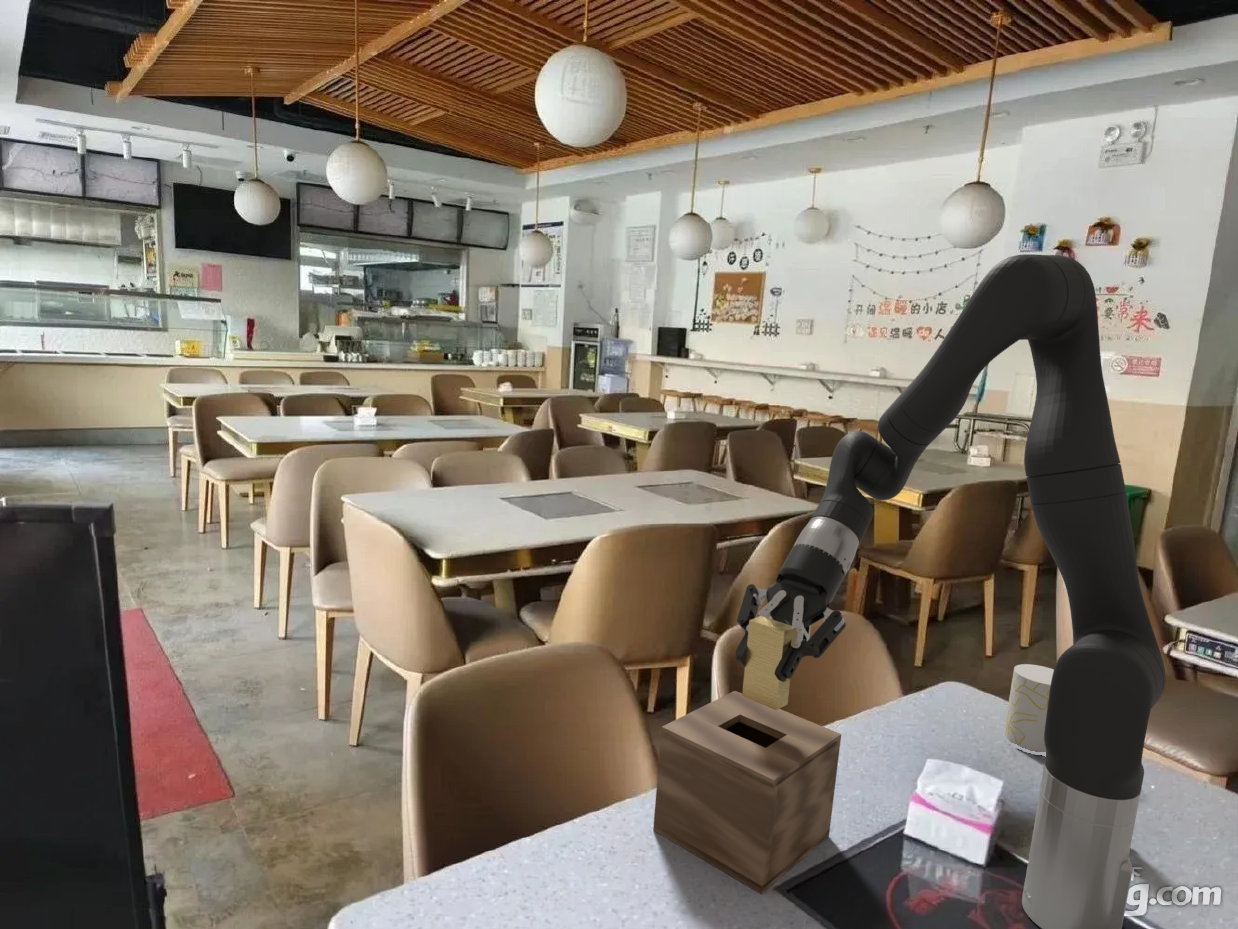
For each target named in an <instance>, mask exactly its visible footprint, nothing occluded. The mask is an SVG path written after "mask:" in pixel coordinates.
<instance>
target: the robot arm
mask: <svg viewBox="0 0 1238 929" xmlns="http://www.w3.org/2000/svg"><path fill="white" fill-rule="evenodd" d="M960 312H961V313H960V314H959V315H958V317H957V319H956V320H955V322H954V323H953V325H952V326H951V328H950V329H949V331H948V333H947V334H946V335H945V337H944V338H943V340H942V341H941V342H940V345H939V346H938V348H936V350H935V352H934V353H933V354H932V356H931V357H930V359H929V360H928V361H927V362H926V365H925V366H924V367H923V368H922V370H921V371H920V372H918V374H917V375H916V376H915V378H914V379H913V380H912V382H910V383H909V384H908V386H907V387H906V388H905V389H904V390H903V391H902V392H901V393H900V394H899V396H898V397H896V399H895V400H894V401H893V402H892V403H891V405H889V406H888V407H887V408H886V410H885V411H884V412H883V414H882V415H881V416H880V417H879V420H878V423H877V429H878V433H879V435H880V437H881V439H882V440H883V442H882V441H880V440H878V439H877V438H875V437H874V436H873V435H871V434H869V433H867V432H865V431H862V430H854V431H851V432H849V433H847V434H845V435H844V436H843V437H842V438H841V439H840V440H839V441H838V442H837V445H836V446H835V448H834V450H833V454H832V455H831V456H832V457H831V460H830V465H829V471H828V477H827V481H826V485H825V490H824V492H823V496H822V498H821V500H820V502H819V504H818V505H817V507H816V509H815V511H814V513H813V514H812V516H811V518H810V520H809V521H808V523H807V524H806V525H805V527H804V528H803V529H802V530H801V532H800V534H799V536H798V537H797V538H796V541H795V542H794V544H793V546H792V548H791V550H790V551H789V553H788V555H787V557H786V559H784V562H783V564H782V565H781V567H780V568H779V571H778V573H777V577H776V580H775V581H774V582H773V583H772V584H771V585H770V586H769V587H767V589H766V588H757V586H756V585H755V584H753V583H751V584H750V583H749V584H748V585H747V587H746V588H745V591H744V592H745V593H744V595H743V598H742V602H741V604H740V605H741V606H740V608H739V612H738V615H737V618H736V622H737V624H738V625H739V626H740V628H741V630H742V631H743V633H744V635H743V637H742V639H741V641H740V643H739V644H738V646H737V647H736V649H735V656H736V657H735V659H736V661H737V663H738V664H739V665H740V666H742V667H744V668H745V666H746V656H747V641H748V631H749V621H750V620H751V619H754V618H757V617H759V616H763V617H766V618H769V619H770V617H771V619H772V620H775V621H778V622H781V623H784V624H787V625H790V626H793V627H796V631H795V634H794V636H793V638H792V641H791V648H789V647H788V648H787V650H786V652H785V654H784V655H783V657H782V659H781V660H780V662H779V664H778V666H777V668H776V670H775V676H776V677H777V679H778V680H780V681H782V682H785V681H786V679H787V678H788V679H790V680H791V678H792V677H793V675H794V674H795V672H796V670H797V668H798V667H799V664H800V662H801V660H802V659H803V658H805V657H813V658H814V659H819V658H820V657H822V656H823V654H824V653H825V651H827V650H828V648H829V647H830V646H831V644H833V643H834V641H835V640H836V639H837V637H839V635H840V634H841V633H842V631H843V630H845V628H846V626H847V623H846V620H845V618H844V617H843V615H842V612H841V611H840V610H837V609H836V610H833V609H830V604H831V603H832V602H833V600H834V598H835V596H836V594H837V592H838V590H839V588H840V586H841V585H842V582H843V581H844V579H845V577H846V575H847V573H848V572H849V570H850V569H851V565H852V563H853V561H854V558H855V557H856V553H857V550H858V547H859V545H860V544H861V542H862V539H863V538H864V536H865V534H866V532H867V530H868V528H869V526H870V524H871V522H872V520H873V518H874V509H873V506H872V505H871V503H870V501H869V500H868V499H867V498H866V496H865V495H864V494H866V495H868V496H869V497H871V498H872V499H875V500H876V501H888V500H892V499H894V498H896V496H898V495H899V494H900V493H901V492H902V490H903V489H904V487H905V486H906V483H907V481H908V479H909V477H910V475H911V473H912V471H913V469H914V467H915V465H916V463H917V461H918V460H919V458H920V457H921V456H922V454H923V453H924V452H925V450H926V449H927V447H928V446H929V445H931V444H932V442H933V441H934V440H936V438H937V437H938V436H940V435H941V434H942V433H943V431H945V429H947V428H948V427H949V426H950V424H952V423H953V421H954V420H956V418H957V416H959V414H960V412H961V411H962V409H963V407H964V406H965V405H966V404H965V403H966V402H967V400H968V397H969V395H970V392H971V389H972V387H973V385H974V383H975V382H976V379H977V378H978V376H979V375H980V373H981V372H982V371H983V370H984V369H985V368H986V367H987V365H989V364H990V363H991V362H992V361H993V360H994V359H995V358H997V357H998V356H999V355H1001V353H1003V352H1004V351H1005V350H1007V349H1008V348H1010V347H1012V346H1013V345H1015V343H1017V342H1019V341H1022V340H1023V341H1024V340H1026V341H1028V346H1029V348H1030V352H1031V357H1032V362H1033V367H1034V372H1035V380H1036V397H1035V404H1034V406H1033V412H1032V416H1031V420H1030V423H1029V424H1030V425H1029V429H1028V433H1027V436H1026V437H1027V438H1026V443H1025V447H1024V455H1023V456H1024V457H1023V461H1024V462H1023V463H1024V473H1025V476H1026V482H1027V488H1028V494H1029V499H1030V504H1031V508H1032V512H1033V517H1034V520H1035V523H1036V526H1037V528H1038V530H1039V533H1040V535H1041V537H1042V540H1043V541H1044V543H1045V545H1046V547H1047V549H1048V551H1049V553H1050V555H1051V557H1052V560H1053V561H1054V563H1055V564H1056V567H1057V568H1058V571H1059V573H1060V576H1061V577H1062V579H1063V580H1062V581H1063V583H1064V586H1065V590H1066V594H1067V598H1068V604H1069V610H1070V619H1071V627H1072V645H1071V646H1070V647H1068V648H1066V650H1065V651H1063V653H1061V654H1060V656H1059V657H1058V660H1057V661H1056V664H1055V666H1054V669H1053V670H1054V672H1053V676H1052V680H1051V686H1050V692H1049V700H1048V707H1047V715H1046V723H1045V731H1044V743H1045V747H1046V757H1045V756H1044V766H1043V769H1042V770H1043V771H1042V777H1041V783H1040V789H1039V794H1038V801H1037V807H1036V812H1035V819H1034V825H1033V831H1032V837H1031V843H1030V848H1029V849H1030V850H1029V855H1028V862H1027V865H1026V866H1027V867H1026V874H1025V880H1024V883H1023V890H1022V891H1023V892H1022V898H1021V905H1022V907H1023V908H1022V909H1023V910H1024V912H1025V913H1026V915H1027V917H1028V918H1030V920H1032V922H1033V923H1034V924H1035V925H1037V926H1038V927H1039V928H1040V929H1123V924H1124V923H1123V922H1124V917H1125V913H1126V906H1127V901H1128V897H1129V892H1130V885H1131V880H1132V875H1133V868H1134V867H1133V865H1132V862H1131V859H1130V852H1131V851H1130V850H1131V844H1132V841H1133V840H1132V839H1133V834H1134V830H1135V825H1136V824H1135V823H1136V818H1137V815H1138V814H1137V812H1138V808H1139V802H1140V797H1141V792H1142V787H1143V781H1144V776H1145V769H1144V764H1142V761H1143V754H1144V747H1145V741H1146V737H1147V736H1146V735H1147V730H1148V726H1149V719H1150V714H1151V710H1152V708H1153V707H1154V706H1155V705H1156V703H1158V701H1159V700H1160V698H1161V697H1162V694H1163V693H1164V690H1165V686H1166V681H1167V680H1166V679H1167V678H1166V676H1167V674H1166V667H1165V663H1164V659H1163V656H1162V654H1161V650H1160V648H1159V644H1158V641H1157V638H1156V634H1155V632H1154V629H1153V626H1152V623H1151V620H1150V616H1149V613H1148V610H1147V606H1146V604H1145V601H1144V597H1143V592H1142V589H1141V584H1140V579H1139V574H1138V567H1137V556H1136V548H1135V541H1134V533H1133V527H1132V519H1131V514H1130V509H1129V503H1128V502H1129V500H1128V494H1127V490H1126V484H1125V479H1124V474H1123V469H1122V464H1121V460H1120V455H1119V451H1118V447H1117V444H1116V439H1115V438H1116V437H1115V434H1114V428H1113V422H1112V416H1111V411H1110V405H1109V400H1108V394H1107V390H1106V385H1105V380H1104V374H1103V367H1102V356H1101V344H1100V343H1101V342H1100V332H1099V317H1098V315H1099V314H1098V305H1097V295H1096V289H1095V286H1094V283H1093V280H1092V277H1091V275H1090V273H1089V271H1087V269H1086V267H1085V266H1084V265H1082V264H1081V263H1080V262H1079V261H1078V260H1076V259H1074V258H1072V257H1069V256H1065V255H1056V254H1048V255H1047V254H1034V253H1033V254H1031V253H1029V254H1027V253H1026V254H1024V253H1023V254H1016V255H1013V256H1008V257H1006V258H1004V259H1002V260H1000V261H999V262H997V264H995V265H994V266H992V268H991V269H990V270H989V271H988V272H987V273H986V274H985V276H984V277H983V279H982V280H981V281H980V283H979V284H978V286H977V287H976V289H975V290H974V292H973V294H971V296H970V298H969V300H968V301H967V303H966V304H965V306H964V308H963V309H962V311H960ZM861 491H862V492H863V493H864V494H862V492H861ZM766 600H767V603H766V605H764V606H763V603H764V602H765V601H766ZM762 606H763V607H762ZM760 607H762V608H761V609H760V610H759V608H760ZM758 610H759V611H758ZM821 620H822V623H821V625H820V626H819V627H818V628H817V629H816V631H815V632H814V633H813V634H812V635H811V629H812V628H811V627H812V625H814V624H816V623H818V622H819V621H821Z"/></svg>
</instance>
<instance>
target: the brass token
mask: <svg viewBox="0 0 1238 929" xmlns="http://www.w3.org/2000/svg"><path fill="white" fill-rule="evenodd" d="M756 617H757V616H756ZM756 617H755V618H754V619H751V620H750V621H749V631H748V641H747V656H746V666H745V667H744V671H743V672H744V673H743V681H742V682H743V683H742V692H741V693H742V696H743V697H746V698H748V699H750V700H753V701H755V702H758V703H760V704H762V705H765V706H767V707H769V708H772V709H774V710H778V709H782V708H783V707H785V706H787V705H788V704H789V703H788V702H789V695H790V694H789V693H790V686H791V684H790V683H791V678H790V679H788V678H787V679H786V681H785V682H782V681H780V680H778V679H777V677H776V676H775V670H776V668H777V666H778V664H779V662H780V660H781V659H782V657H783V655H784V654H785V652H786V650H787V648H788V647H789V648H791V641H792V638H793V636H794V634H795V631H796V627H793V626H790V625H787V624H784V623H781V622H778V621H775V620H772V618H770V617H769V618H766V617H763V616H759V617H757V618H756Z"/></svg>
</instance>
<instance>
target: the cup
mask: <svg viewBox="0 0 1238 929" xmlns="http://www.w3.org/2000/svg"><path fill="white" fill-rule="evenodd" d="M1053 672H1054V669H1053V668H1051V667H1047V666H1044V665H1043V666H1042V665H1037V664H1028V663H1024V664H1023V663H1022V664H1017V665H1015V666H1014V667H1013V674H1012V679H1011V686H1010V692H1009V693H1010V694H1009V698H1008V704H1007V712H1006V719H1005V724H1004V730H1003V736H1004V735H1005V737H1006V738H1007V739H1008V740H1009V741H1010V742H1011V743H1014V744H1017V745H1018V746H1020V747H1022V748H1025V749H1028V750H1030V751H1035V752H1046V747H1045V743H1044V731H1045V723H1046V715H1047V707H1048V700H1049V692H1050V686H1051V680H1052V676H1053Z"/></svg>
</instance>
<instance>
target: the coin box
mask: <svg viewBox="0 0 1238 929" xmlns="http://www.w3.org/2000/svg"><path fill="white" fill-rule="evenodd" d="M660 731H661V732H660V742H659V743H660V745H659V758H658V768H657V778H656V780H657V782H656V791H655V805H654V817H653V827H652V829H653V831H654V832H655V833H657V834H658V835H660V836H662V837H664V838H666V839H667V840H668V841H671V842H672V843H674V844H675V845H677V846H679V847H681V848H682V849H685V851H687V852H689V853H691V854H692V855H694V856H696V857H697V858H699V859H701V860H702V861H705V862H706V863H708V864H710V865H711V866H713V867H715V868H716V869H718V870H720V872H721V871H722V872H723V873H725V874H727V875H728V876H730V877H731V878H734V879H735V880H736V881H738V882H740V883H742V884H744V885H746V886H747V887H748V888H750V889H752V890H754V891H755V892H757V893H759V894H760V895H762V894H763V893H765V892H766V891H767V890H768V889H769V888H770V887H772V886H773V885H774V884H775V883H777V882H778V881H779V880H780V879H781V878H782V877H783V876H784V875H786V874H787V873H788V872H789V871H790V870H792V869H793V868H794V867H795V866H796V865H797V864H798V863H800V862H801V861H802V860H803V859H804V858H805V857H806V856H808V855H809V854H810V853H812V852H813V851H814V850H815V849H816V848H817V847H818V846H819V845H820V844H822V843H823V842H824V841H825V840H826V839H827V838H828V837H830V830H831V822H832V815H833V813H832V812H833V807H834V797H835V789H836V782H837V780H836V779H837V774H838V773H837V771H838V765H839V757H840V756H839V755H840V749H841V748H840V747H841V741H842V740H841V739H842V733H840V732H837V731H835V730H832V729H830V728H828V727H825V726H822V725H820V724H818V723H815V722H813V721H810V720H808V719H805V718H803V717H800V716H797V715H795V714H793V713H791V712H788V711H786V710H783V709H782V708H780V709H778V710H774V709H772V708H769V707H767V706H765V705H762V704H760V703H758V702H755V701H753V700H750V699H748V698H746V697H743V696H742V692H740V691H736V690H734V691H732V692H730V693H727V694H726V695H723V696H722V697H719V698H717V699H715V700H713V701H711V702H709V703H707V704H705V705H703V706H701V707H699V708H697V709H695V710H693V711H691V712H688V713H686V714H685V715H683V716H681V717H679V718H677V719H675V720H672V721H671V722H669V723H667V724H665V725H662V726H661V730H660Z"/></svg>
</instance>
